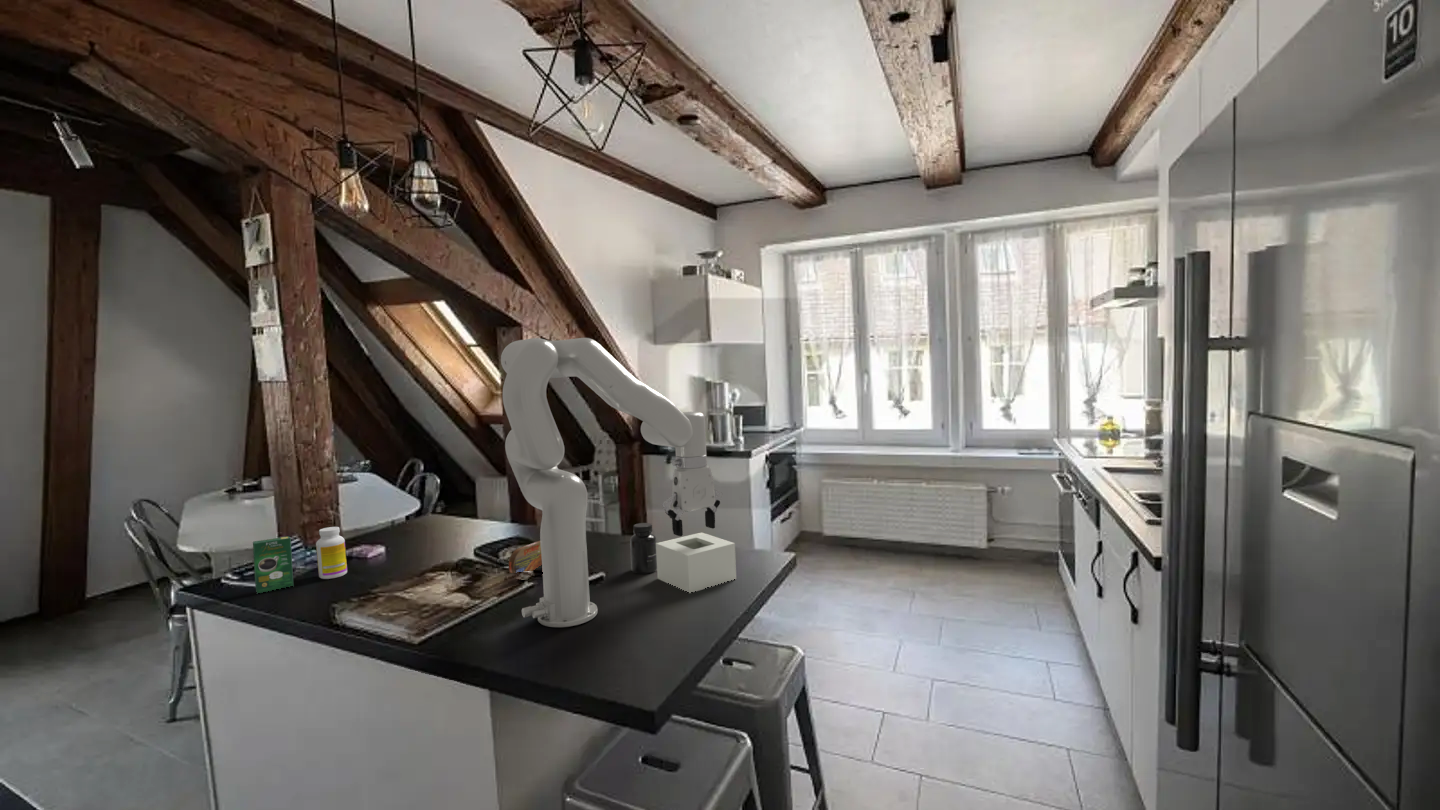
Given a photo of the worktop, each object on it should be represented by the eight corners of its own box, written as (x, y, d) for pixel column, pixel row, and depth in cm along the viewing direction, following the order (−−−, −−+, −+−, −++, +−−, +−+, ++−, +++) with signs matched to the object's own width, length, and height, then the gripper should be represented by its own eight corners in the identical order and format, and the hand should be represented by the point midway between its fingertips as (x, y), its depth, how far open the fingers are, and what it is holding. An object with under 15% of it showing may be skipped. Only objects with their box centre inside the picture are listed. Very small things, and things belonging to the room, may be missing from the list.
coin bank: (689, 593, 150) (687, 555, 150) (657, 578, 161) (655, 543, 161) (736, 579, 159) (734, 543, 158) (703, 566, 170) (701, 532, 169)
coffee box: (293, 584, 169) (289, 534, 168) (295, 586, 166) (290, 536, 165) (255, 592, 164) (251, 541, 163) (256, 595, 161) (251, 543, 160)
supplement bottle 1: (352, 573, 175) (348, 527, 174) (326, 581, 170) (322, 533, 169) (339, 570, 179) (335, 524, 178) (314, 577, 173) (309, 530, 172)
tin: (515, 585, 161) (513, 552, 160) (507, 583, 162) (505, 550, 162) (560, 567, 173) (558, 536, 173) (552, 566, 175) (550, 535, 175)
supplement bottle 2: (656, 574, 165) (653, 528, 164) (629, 575, 165) (627, 528, 164) (659, 565, 172) (657, 521, 171) (633, 566, 172) (631, 522, 171)
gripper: (670, 468, 150) (673, 541, 151) (728, 459, 160) (731, 527, 161) (653, 465, 156) (656, 535, 157) (710, 456, 166) (713, 522, 167)
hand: (694, 531), depth 159 cm, fingers open, 9 cm apart
